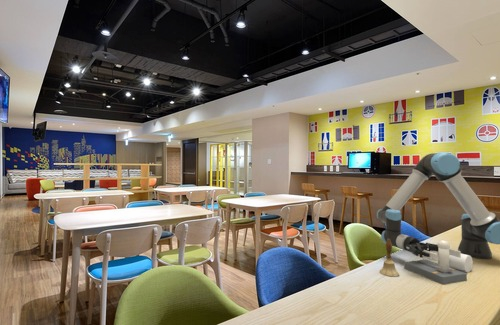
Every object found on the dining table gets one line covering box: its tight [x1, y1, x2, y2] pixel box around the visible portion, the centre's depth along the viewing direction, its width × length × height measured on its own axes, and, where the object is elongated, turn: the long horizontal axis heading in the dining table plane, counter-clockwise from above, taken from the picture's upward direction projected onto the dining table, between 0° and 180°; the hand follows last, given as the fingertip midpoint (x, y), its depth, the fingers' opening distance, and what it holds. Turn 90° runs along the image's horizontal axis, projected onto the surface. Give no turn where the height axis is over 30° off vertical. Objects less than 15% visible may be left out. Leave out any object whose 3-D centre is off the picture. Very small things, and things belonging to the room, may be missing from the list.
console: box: [403, 259, 468, 285], centre depth 132 cm, size 14×20×3 cm
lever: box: [436, 239, 453, 273], centre depth 127 cm, size 5×5×14 cm
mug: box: [449, 254, 474, 273], centre depth 139 cm, size 12×10×8 cm
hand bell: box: [379, 239, 400, 278], centre depth 133 cm, size 8×8×16 cm
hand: (449, 256), depth 125 cm, fingers open, 13 cm apart
